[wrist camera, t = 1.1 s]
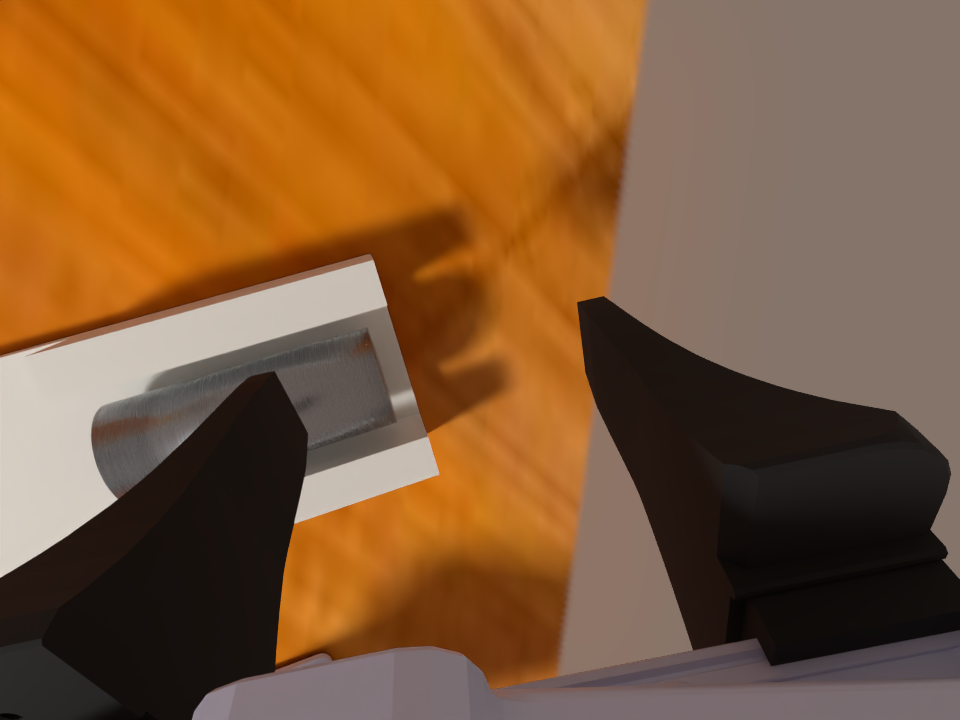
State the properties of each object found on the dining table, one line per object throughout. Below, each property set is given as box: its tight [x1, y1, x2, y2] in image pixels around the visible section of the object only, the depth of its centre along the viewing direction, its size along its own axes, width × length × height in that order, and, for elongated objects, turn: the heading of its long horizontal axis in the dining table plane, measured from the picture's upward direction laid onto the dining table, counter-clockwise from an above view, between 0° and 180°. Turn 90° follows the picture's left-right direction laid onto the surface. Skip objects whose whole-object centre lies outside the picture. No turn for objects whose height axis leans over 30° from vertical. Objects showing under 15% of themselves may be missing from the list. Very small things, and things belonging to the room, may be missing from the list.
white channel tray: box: [0, 254, 439, 578], centre depth 22 cm, size 9×20×4 cm, turn 104°
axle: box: [91, 327, 397, 499], centre depth 22 cm, size 10×4×4 cm, turn 105°
